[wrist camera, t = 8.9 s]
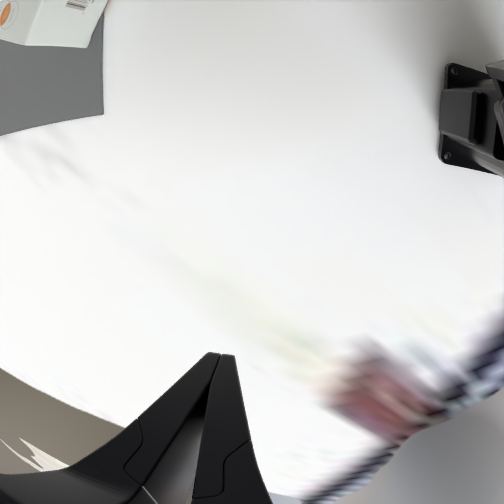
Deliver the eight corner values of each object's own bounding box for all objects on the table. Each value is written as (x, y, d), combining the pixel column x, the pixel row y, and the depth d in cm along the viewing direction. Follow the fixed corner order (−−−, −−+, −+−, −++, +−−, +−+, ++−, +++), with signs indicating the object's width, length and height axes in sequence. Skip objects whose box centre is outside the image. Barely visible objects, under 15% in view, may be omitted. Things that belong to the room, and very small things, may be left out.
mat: (111, -58, 12) (109, -59, 12) (103, 114, 19) (101, 114, 18) (-3, -2, 14) (-5, -2, 13) (-5, 137, 20) (-7, 137, 20)
